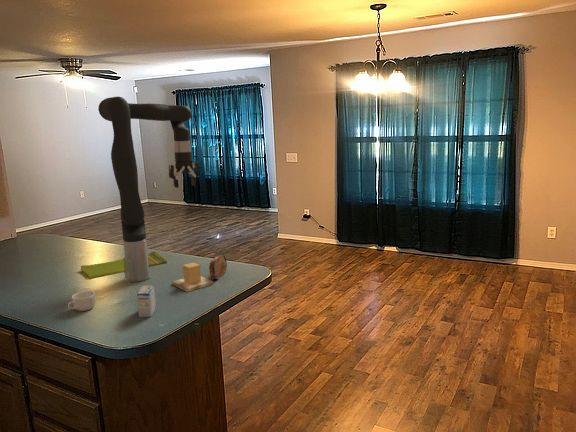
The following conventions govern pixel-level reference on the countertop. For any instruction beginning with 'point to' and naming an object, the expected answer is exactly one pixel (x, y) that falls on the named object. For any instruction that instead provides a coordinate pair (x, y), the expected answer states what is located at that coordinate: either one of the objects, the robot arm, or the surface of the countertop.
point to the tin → (218, 267)
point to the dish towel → (117, 266)
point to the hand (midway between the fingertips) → (185, 186)
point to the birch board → (189, 287)
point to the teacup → (83, 300)
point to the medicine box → (146, 301)
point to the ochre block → (192, 273)
